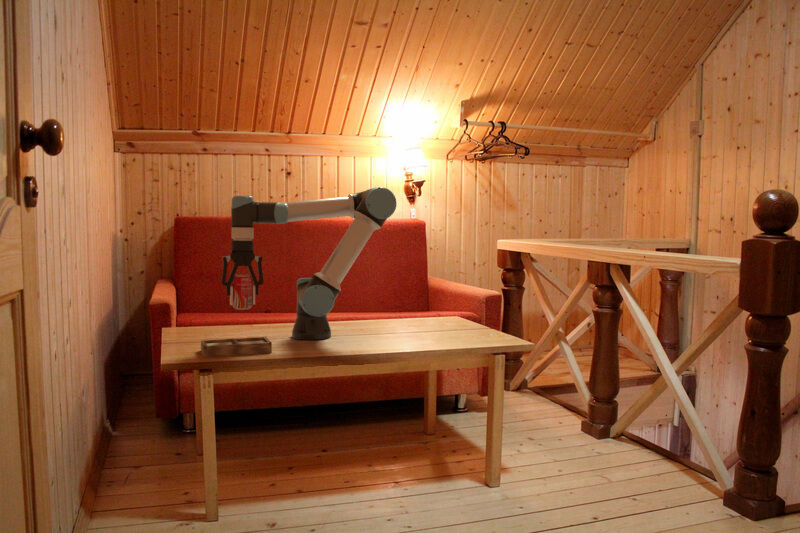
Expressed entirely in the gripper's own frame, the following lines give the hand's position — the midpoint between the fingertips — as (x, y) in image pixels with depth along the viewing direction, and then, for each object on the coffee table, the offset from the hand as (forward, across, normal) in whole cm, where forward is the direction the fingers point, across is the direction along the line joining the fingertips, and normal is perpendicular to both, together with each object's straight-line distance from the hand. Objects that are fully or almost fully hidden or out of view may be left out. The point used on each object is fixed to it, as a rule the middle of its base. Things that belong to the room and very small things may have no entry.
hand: (242, 304), depth 201 cm
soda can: (+2, 0, 0) cm, 2 cm away
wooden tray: (+15, +3, +8) cm, 18 cm away
